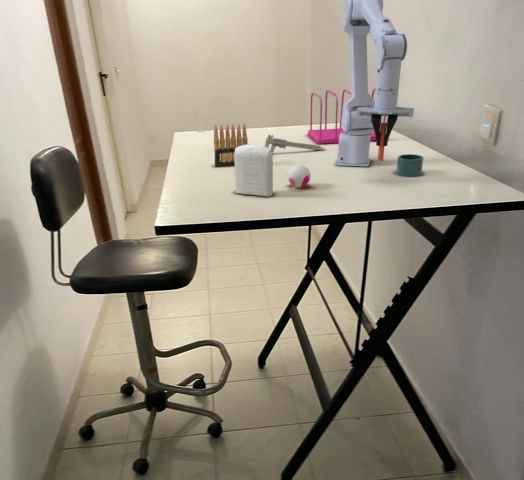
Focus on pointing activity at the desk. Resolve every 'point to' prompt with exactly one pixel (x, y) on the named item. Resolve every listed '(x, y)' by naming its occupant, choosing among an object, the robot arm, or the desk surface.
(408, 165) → the cup
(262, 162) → the white tall block
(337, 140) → the file sorter
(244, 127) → the ammunition clip
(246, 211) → the desk surface
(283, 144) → the caliper
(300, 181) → the stress ball
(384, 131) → the red cylinder rod
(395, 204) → the desk surface
